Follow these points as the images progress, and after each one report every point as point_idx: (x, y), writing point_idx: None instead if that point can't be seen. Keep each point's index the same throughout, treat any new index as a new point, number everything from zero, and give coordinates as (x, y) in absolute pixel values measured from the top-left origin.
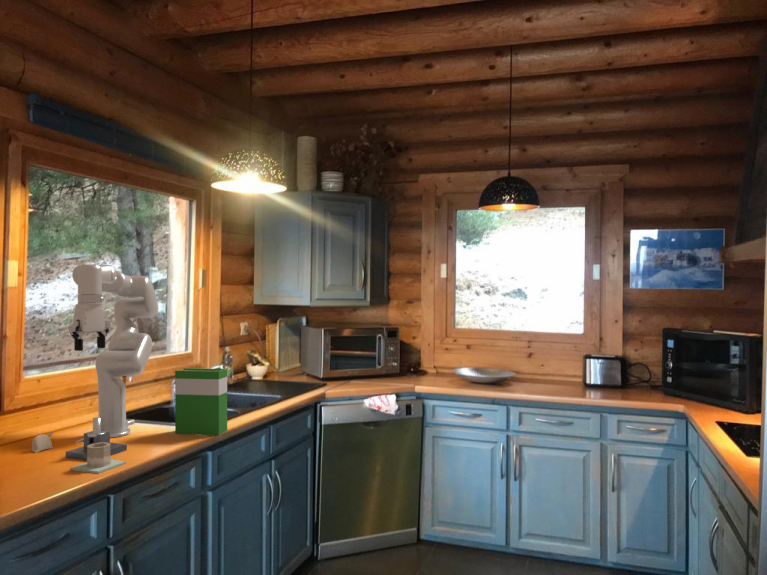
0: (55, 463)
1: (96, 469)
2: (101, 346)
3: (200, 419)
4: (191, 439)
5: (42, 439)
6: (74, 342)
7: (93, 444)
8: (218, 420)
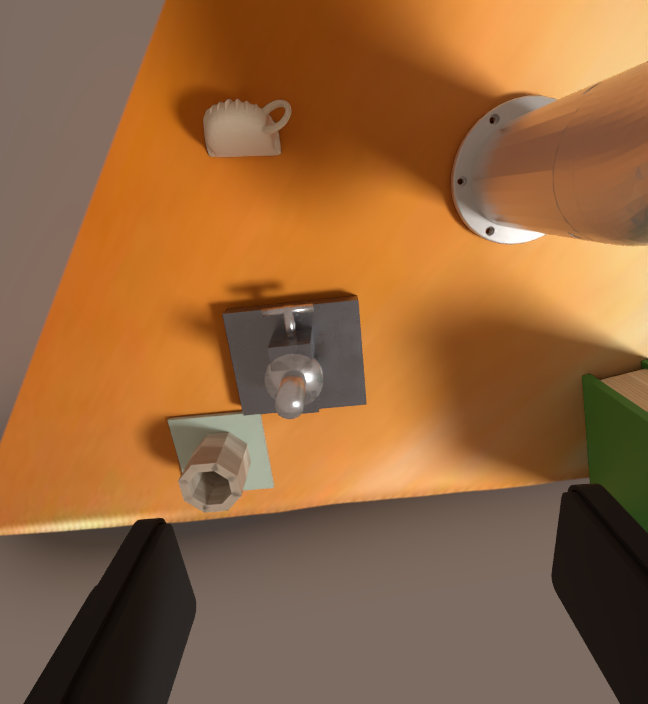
0: (179, 333)
1: None
2: (565, 569)
3: (619, 479)
4: (527, 463)
5: (232, 139)
6: (42, 672)
7: (206, 471)
8: None
